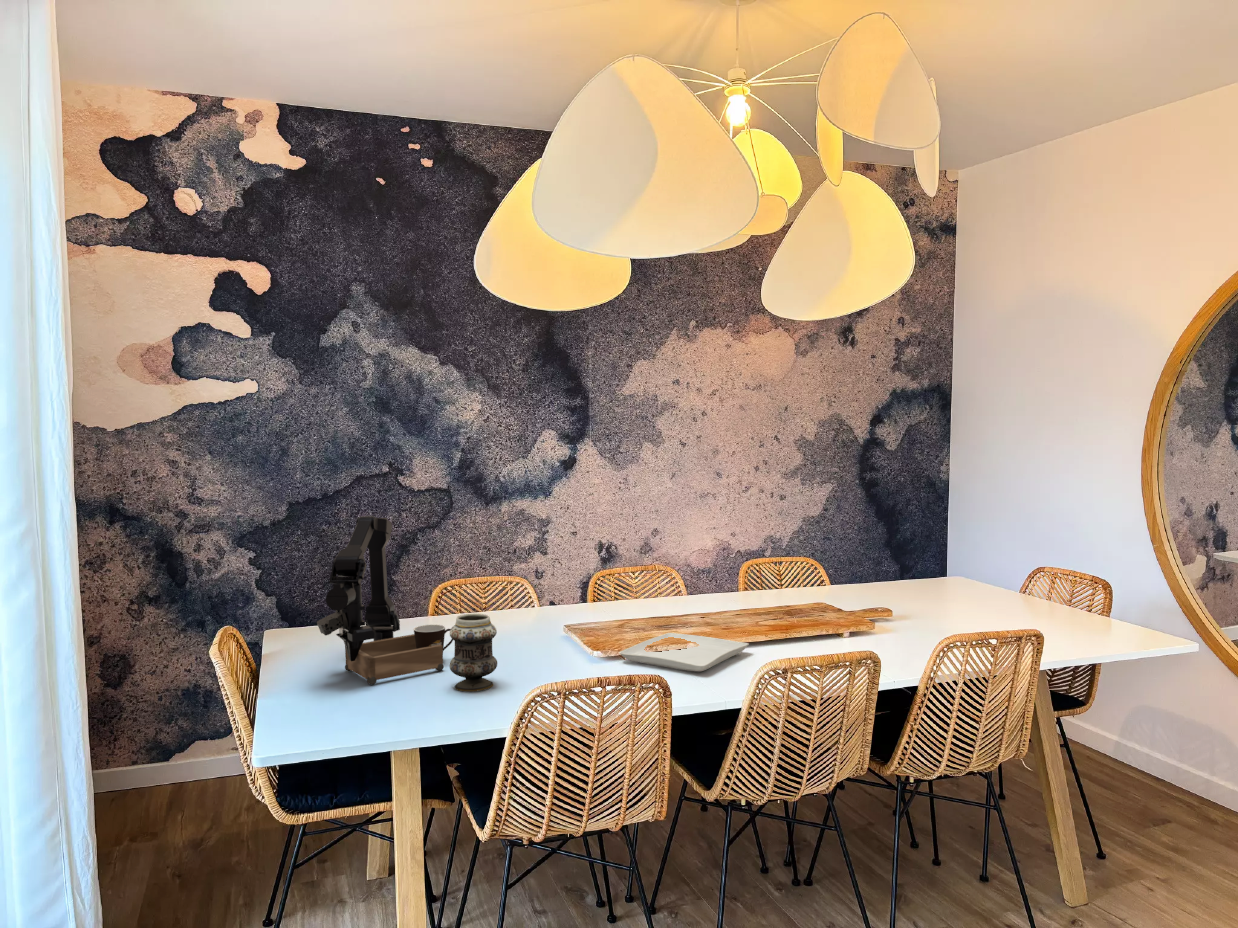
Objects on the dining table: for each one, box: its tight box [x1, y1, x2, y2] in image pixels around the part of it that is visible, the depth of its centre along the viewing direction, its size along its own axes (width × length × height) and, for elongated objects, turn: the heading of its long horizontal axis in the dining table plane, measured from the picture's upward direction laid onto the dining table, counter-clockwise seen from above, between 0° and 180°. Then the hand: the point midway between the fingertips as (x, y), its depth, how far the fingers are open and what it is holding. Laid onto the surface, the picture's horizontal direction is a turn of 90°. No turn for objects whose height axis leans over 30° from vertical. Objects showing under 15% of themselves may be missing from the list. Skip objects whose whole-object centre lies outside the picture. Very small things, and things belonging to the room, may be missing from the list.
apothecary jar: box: [449, 613, 498, 693], centre depth 234 cm, size 12×12×18 cm
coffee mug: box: [413, 624, 454, 652], centre depth 256 cm, size 12×9×10 cm
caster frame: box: [344, 633, 445, 685], centre depth 249 cm, size 18×21×7 cm
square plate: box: [618, 632, 750, 672], centre depth 258 cm, size 27×27×4 cm
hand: (352, 660), depth 242 cm, fingers closed, pressing on caster frame
